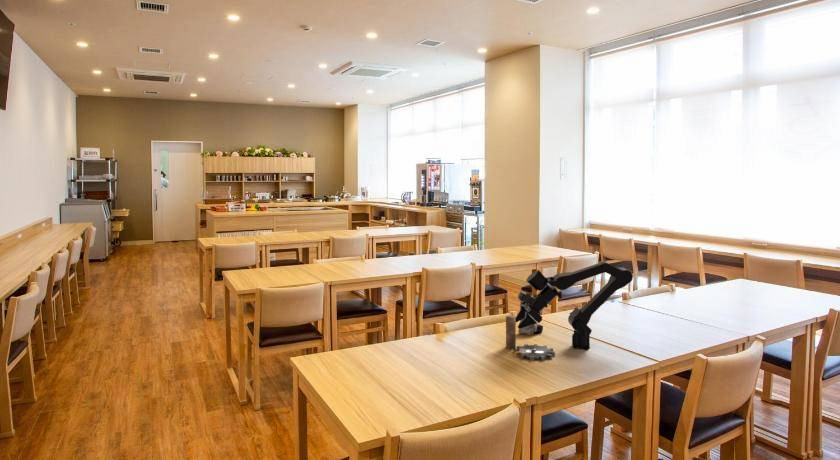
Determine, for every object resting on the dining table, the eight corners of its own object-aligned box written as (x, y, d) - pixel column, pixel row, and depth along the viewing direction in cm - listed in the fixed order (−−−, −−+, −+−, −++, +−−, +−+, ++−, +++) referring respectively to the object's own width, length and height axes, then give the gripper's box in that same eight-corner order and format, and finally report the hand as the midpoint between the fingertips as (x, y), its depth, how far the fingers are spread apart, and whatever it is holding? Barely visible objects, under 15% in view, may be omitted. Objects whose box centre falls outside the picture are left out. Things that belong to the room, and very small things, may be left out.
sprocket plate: (555, 349, 217) (556, 344, 216) (553, 362, 201) (553, 357, 201) (516, 346, 221) (516, 341, 221) (511, 359, 206) (511, 354, 206)
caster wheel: (539, 334, 245) (543, 338, 235) (515, 329, 246) (518, 332, 236) (542, 320, 245) (546, 323, 235) (518, 315, 246) (521, 317, 236)
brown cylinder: (516, 346, 221) (516, 315, 220) (515, 349, 218) (515, 318, 216) (506, 345, 222) (506, 315, 221) (505, 348, 219) (505, 317, 217)
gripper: (525, 280, 226) (499, 305, 228) (534, 289, 208) (505, 317, 209) (544, 298, 227) (518, 323, 228) (554, 309, 208) (525, 336, 210)
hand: (516, 324), depth 219 cm, fingers open, 9 cm apart
